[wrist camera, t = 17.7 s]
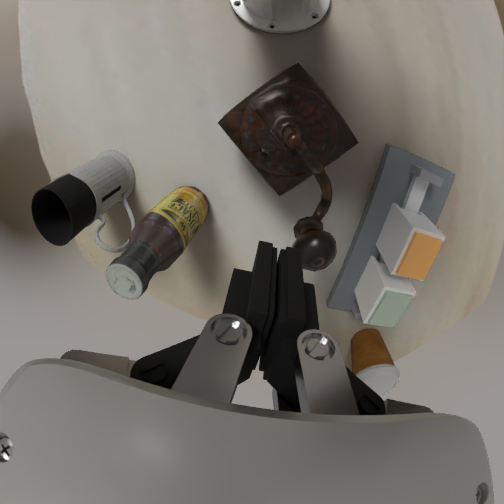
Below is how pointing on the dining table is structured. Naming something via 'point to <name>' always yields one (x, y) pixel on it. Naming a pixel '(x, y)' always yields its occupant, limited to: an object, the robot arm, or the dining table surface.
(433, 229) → the module
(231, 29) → the dining table surface
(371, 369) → the disposable coffee cup
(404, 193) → the rail board
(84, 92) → the dining table surface
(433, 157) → the dining table surface
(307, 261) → the pepper mill
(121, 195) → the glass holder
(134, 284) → the sauce bottle
